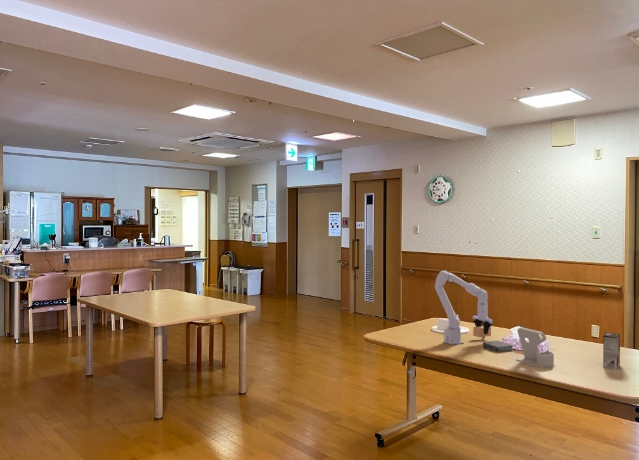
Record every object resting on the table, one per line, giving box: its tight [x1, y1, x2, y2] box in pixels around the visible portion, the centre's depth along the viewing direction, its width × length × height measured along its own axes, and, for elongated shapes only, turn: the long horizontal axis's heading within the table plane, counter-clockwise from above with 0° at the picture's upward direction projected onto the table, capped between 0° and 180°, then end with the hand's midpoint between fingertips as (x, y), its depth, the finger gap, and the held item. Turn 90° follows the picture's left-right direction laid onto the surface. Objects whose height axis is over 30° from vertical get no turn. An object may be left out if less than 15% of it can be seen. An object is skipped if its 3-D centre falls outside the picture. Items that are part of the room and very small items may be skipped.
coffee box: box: [602, 331, 621, 370], centre depth 253 cm, size 9×6×16 cm
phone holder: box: [515, 326, 556, 369], centre depth 260 cm, size 17×10×18 cm, turn 27°
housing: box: [472, 326, 492, 338], centre depth 299 cm, size 10×5×5 cm, turn 115°
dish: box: [431, 314, 470, 335], centre depth 337 cm, size 25×25×11 cm
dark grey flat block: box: [482, 340, 514, 353], centre depth 288 cm, size 11×12×3 cm
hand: (482, 333), depth 299 cm, fingers closed on housing, 5 cm apart
